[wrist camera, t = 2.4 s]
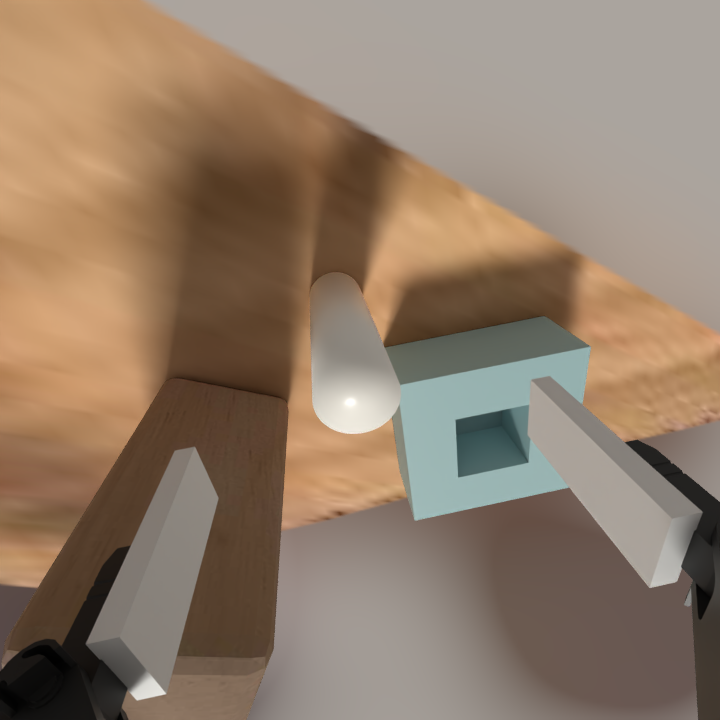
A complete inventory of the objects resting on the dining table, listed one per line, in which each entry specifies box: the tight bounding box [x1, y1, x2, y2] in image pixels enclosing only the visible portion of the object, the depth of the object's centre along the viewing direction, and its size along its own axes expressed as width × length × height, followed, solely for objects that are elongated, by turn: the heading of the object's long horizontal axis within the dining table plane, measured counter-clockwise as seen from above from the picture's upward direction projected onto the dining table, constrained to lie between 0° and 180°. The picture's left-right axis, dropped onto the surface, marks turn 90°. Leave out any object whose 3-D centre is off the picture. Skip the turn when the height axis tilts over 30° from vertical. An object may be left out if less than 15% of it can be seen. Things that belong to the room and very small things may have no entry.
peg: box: [309, 272, 401, 434], centre depth 24 cm, size 4×4×14 cm
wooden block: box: [2, 378, 288, 720], centre depth 25 cm, size 10×10×20 cm
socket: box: [385, 316, 591, 520], centre depth 33 cm, size 14×14×6 cm
